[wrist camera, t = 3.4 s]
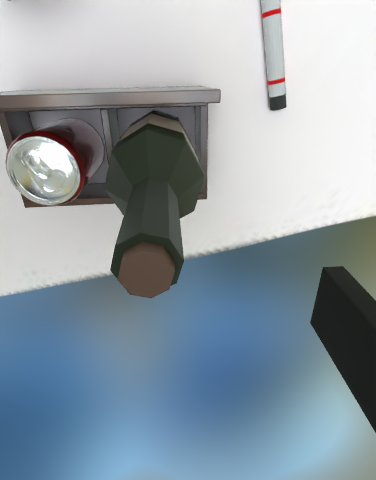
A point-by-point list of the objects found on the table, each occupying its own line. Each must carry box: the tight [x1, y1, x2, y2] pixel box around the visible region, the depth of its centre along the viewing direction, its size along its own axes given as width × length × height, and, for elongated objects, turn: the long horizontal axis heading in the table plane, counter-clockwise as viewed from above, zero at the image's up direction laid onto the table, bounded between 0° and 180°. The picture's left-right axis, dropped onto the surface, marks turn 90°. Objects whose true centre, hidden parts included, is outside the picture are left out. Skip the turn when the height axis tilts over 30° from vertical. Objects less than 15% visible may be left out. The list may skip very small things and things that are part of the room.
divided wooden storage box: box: [0, 86, 220, 208], centre depth 33 cm, size 22×12×14 cm, turn 91°
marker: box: [261, 0, 286, 110], centre depth 34 cm, size 15×2×2 cm, turn 13°
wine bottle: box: [105, 110, 205, 298], centre depth 26 cm, size 8×8×30 cm
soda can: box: [6, 118, 104, 206], centre depth 34 cm, size 7×7×12 cm
